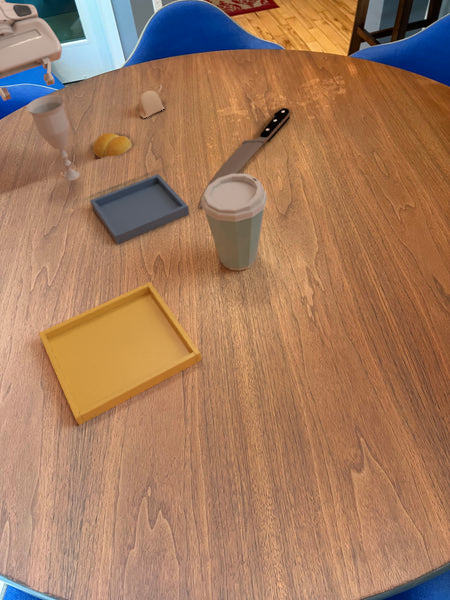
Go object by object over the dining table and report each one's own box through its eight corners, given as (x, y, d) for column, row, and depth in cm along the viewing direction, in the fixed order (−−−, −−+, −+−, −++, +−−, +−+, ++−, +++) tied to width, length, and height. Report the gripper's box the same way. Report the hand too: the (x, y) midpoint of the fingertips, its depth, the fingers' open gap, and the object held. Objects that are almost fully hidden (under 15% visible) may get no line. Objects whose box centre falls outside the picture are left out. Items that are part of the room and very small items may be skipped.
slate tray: (117, 244, 91) (115, 236, 90) (92, 208, 99) (89, 200, 98) (189, 214, 96) (188, 206, 94) (159, 181, 104) (158, 173, 102)
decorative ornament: (135, 114, 124) (131, 94, 120) (162, 102, 127) (158, 82, 123) (144, 119, 122) (139, 99, 118) (170, 108, 125) (167, 87, 121)
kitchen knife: (184, 209, 98) (181, 199, 96) (272, 114, 120) (271, 106, 118) (205, 213, 96) (203, 204, 94) (292, 116, 117) (291, 107, 116)
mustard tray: (79, 425, 67) (75, 418, 65) (42, 340, 77) (38, 332, 75) (201, 360, 72) (200, 352, 71) (152, 289, 83) (150, 281, 81)
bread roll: (120, 165, 109) (115, 150, 106) (89, 157, 112) (84, 141, 109) (140, 147, 113) (137, 131, 110) (110, 139, 117) (106, 124, 114)
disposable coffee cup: (228, 288, 82) (222, 219, 70) (197, 253, 88) (186, 185, 77) (278, 262, 85) (280, 193, 74) (245, 230, 91) (242, 162, 80)
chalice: (73, 195, 102) (43, 116, 89) (51, 187, 105) (19, 108, 91) (96, 178, 106) (71, 99, 93) (74, 169, 109) (47, 92, 95)
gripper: (-63, 31, 89) (-23, 101, 91) (41, 2, 96) (76, 67, 98) (-57, 50, 95) (-19, 115, 97) (40, 21, 102) (73, 82, 104)
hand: (29, 90), depth 97 cm, fingers open, 8 cm apart
